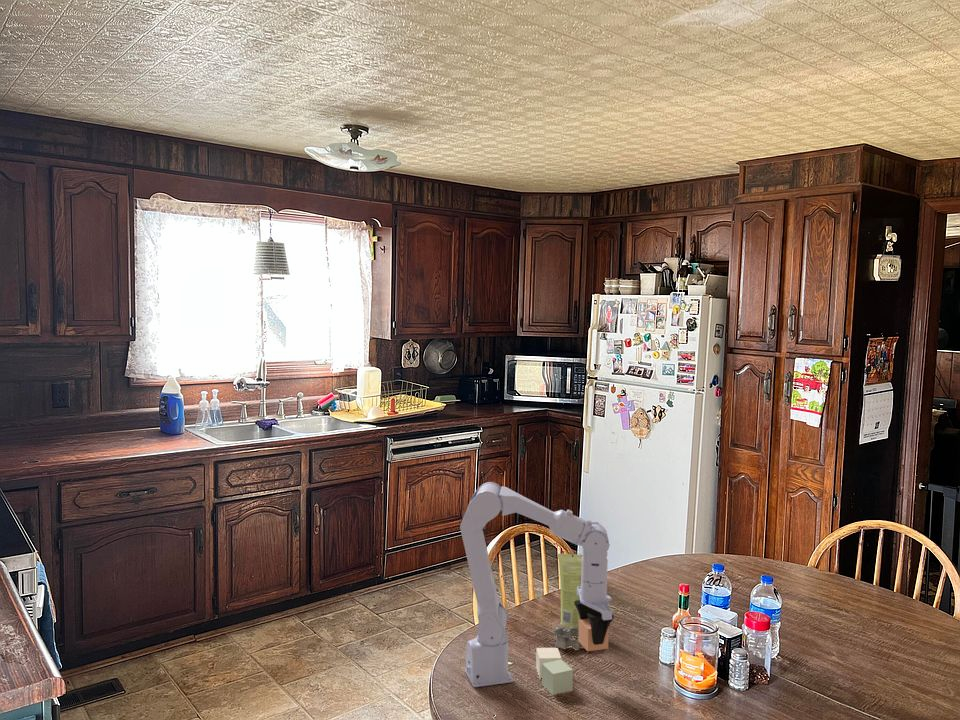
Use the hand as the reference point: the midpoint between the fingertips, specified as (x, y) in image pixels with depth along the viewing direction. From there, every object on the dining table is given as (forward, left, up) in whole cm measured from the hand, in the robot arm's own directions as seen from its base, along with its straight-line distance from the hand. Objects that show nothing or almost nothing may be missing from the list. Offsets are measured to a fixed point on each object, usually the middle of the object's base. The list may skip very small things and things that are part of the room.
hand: (592, 638), depth 162 cm
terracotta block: (0, 0, -2) cm, 2 cm away
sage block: (-8, 0, -10) cm, 14 cm away
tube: (+7, +28, -11) cm, 31 cm away
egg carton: (+4, +19, -11) cm, 22 cm away
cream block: (-8, +6, -10) cm, 15 cm away
